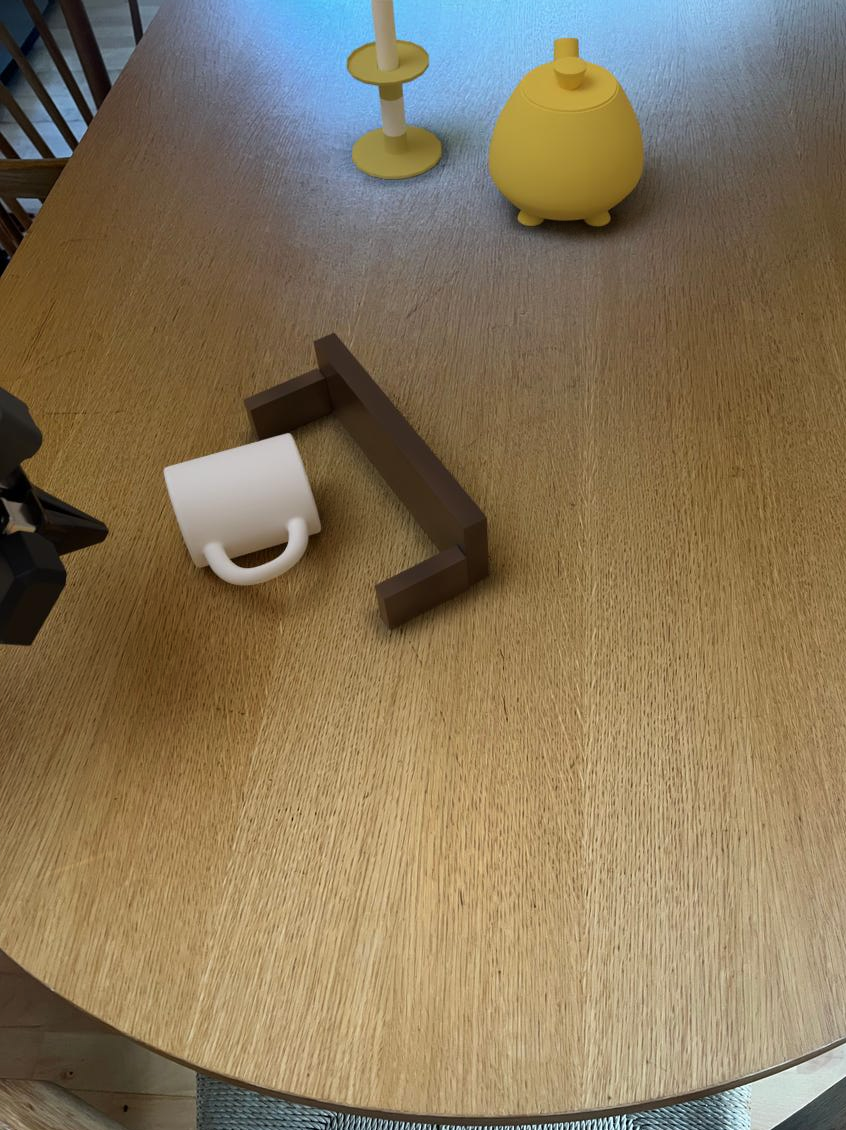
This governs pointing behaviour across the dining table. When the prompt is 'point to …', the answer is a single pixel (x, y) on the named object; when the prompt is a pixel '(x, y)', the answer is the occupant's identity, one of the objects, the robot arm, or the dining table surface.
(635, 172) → the teapot
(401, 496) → the shelf
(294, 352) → the dining table surface
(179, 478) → the mug
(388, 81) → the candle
